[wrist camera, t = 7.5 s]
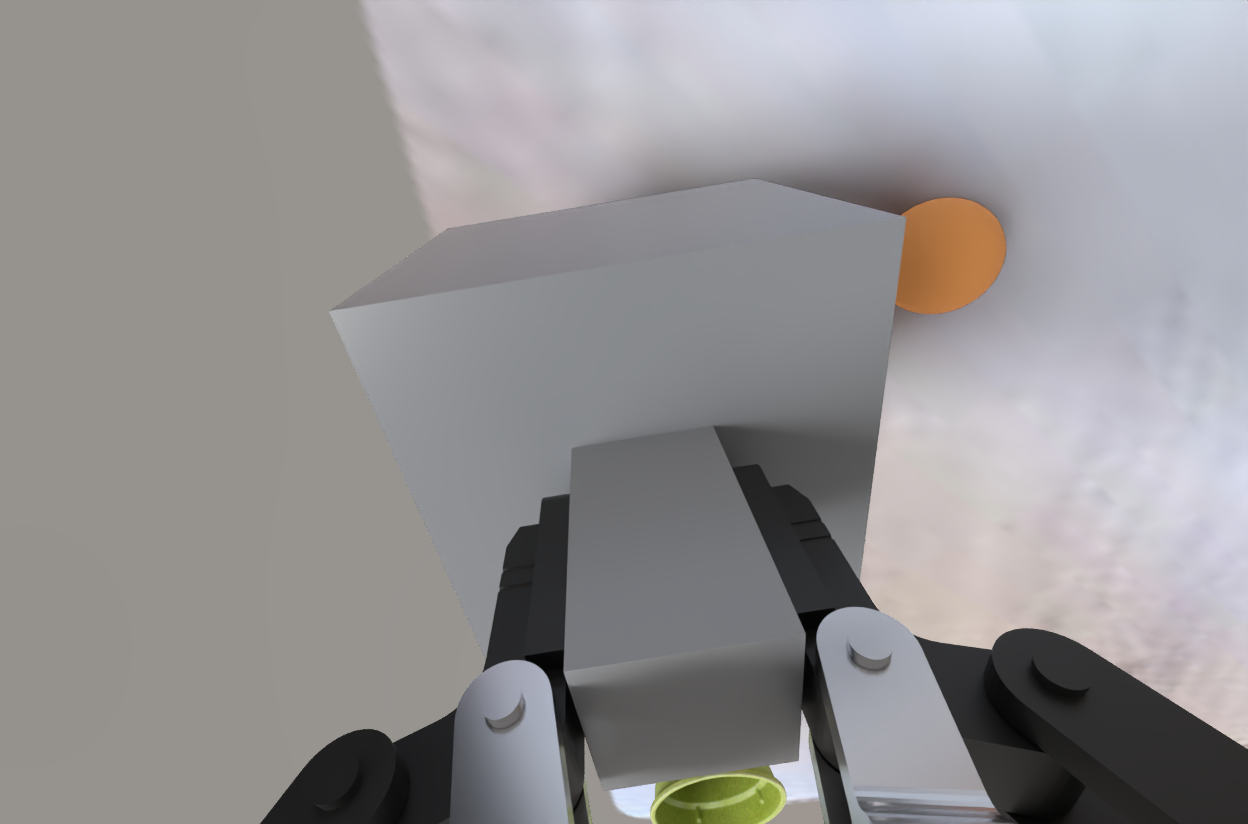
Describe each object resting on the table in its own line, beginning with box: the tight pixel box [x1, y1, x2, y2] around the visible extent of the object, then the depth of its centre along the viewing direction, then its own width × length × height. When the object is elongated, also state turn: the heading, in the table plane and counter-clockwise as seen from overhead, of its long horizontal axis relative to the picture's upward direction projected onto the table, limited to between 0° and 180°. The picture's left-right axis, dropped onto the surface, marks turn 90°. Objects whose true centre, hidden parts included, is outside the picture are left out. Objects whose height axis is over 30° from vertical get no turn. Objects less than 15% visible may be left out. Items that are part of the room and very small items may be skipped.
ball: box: [895, 197, 1006, 314], centre depth 22 cm, size 5×5×5 cm
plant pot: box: [650, 766, 786, 824], centre depth 38 cm, size 9×9×9 cm
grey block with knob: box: [329, 178, 906, 791], centre depth 13 cm, size 10×10×14 cm
